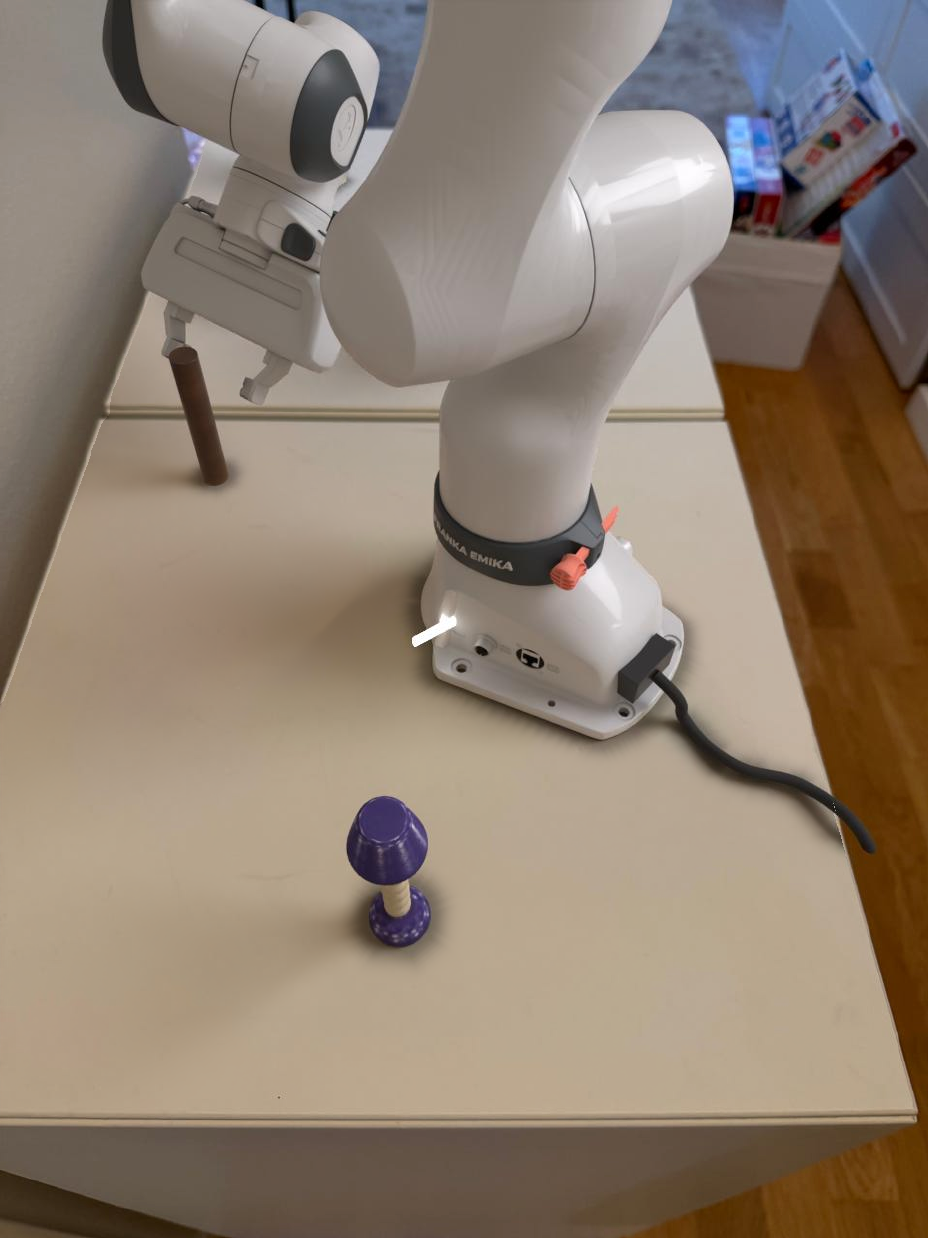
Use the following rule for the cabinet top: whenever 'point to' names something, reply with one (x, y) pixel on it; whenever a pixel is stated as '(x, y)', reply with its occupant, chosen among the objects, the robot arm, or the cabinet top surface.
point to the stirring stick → (199, 414)
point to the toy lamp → (391, 868)
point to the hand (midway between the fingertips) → (210, 380)
